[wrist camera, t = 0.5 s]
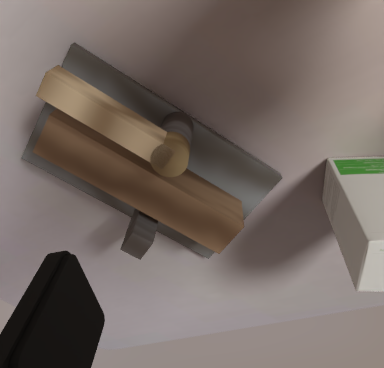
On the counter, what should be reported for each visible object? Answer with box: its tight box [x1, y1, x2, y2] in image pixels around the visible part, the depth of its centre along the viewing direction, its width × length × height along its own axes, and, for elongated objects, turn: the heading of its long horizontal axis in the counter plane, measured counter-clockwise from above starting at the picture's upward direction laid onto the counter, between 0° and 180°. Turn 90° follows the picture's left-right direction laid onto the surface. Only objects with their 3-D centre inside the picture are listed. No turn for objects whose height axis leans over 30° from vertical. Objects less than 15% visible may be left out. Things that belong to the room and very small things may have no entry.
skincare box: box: [322, 156, 384, 292], centre depth 38 cm, size 8×7×16 cm
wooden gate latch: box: [22, 43, 282, 259], centre depth 42 cm, size 16×28×9 cm, turn 57°
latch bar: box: [36, 65, 190, 177], centre depth 35 cm, size 15×4×3 cm, turn 57°
